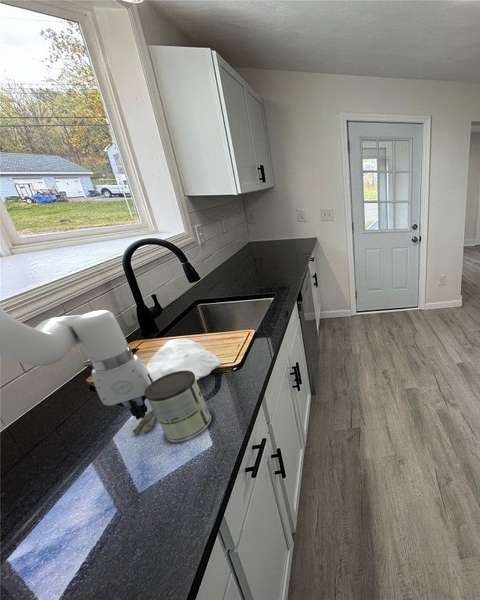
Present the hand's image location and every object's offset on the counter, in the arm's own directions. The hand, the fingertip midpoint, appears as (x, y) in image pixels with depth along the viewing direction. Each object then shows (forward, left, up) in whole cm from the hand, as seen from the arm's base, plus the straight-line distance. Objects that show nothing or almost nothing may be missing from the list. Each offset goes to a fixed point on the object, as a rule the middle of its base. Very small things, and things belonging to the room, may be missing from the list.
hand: (141, 415), depth 85 cm
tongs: (+2, -1, -1) cm, 2 cm away
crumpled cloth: (+8, +18, -1) cm, 19 cm away
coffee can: (+12, -11, -1) cm, 16 cm away
